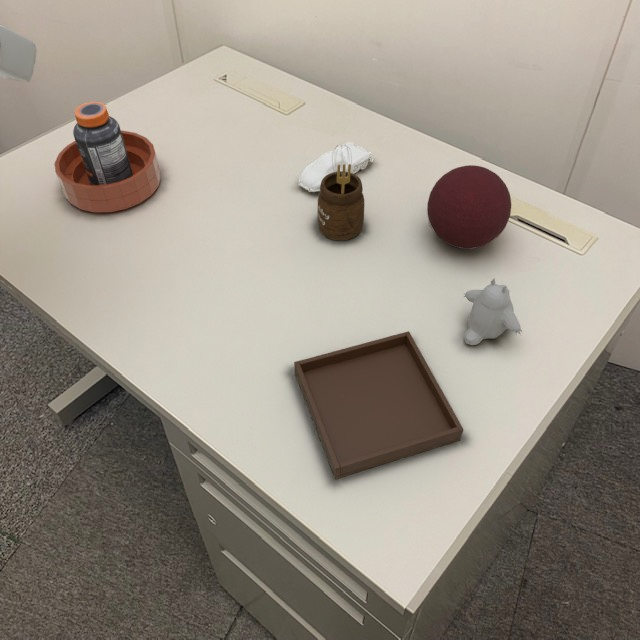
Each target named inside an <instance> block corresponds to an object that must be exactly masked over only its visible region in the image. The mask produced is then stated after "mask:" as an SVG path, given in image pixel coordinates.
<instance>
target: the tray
mask: <svg viewBox="0 0 640 640" xmlns="http://www.w3.org/2000/svg"><path fill="white" fill-rule="evenodd" d="M293 365H294V366H293V367H294V375H295V377H296V380H297V382H298V386H299V388H300V391H301V393H302V396H303V399H304V401H305V404H306V406H307V409H308V412H309V414H310V417H311V420H312V422H313V424H314V428H315V430H316V432H317V435H318V437H319V441H320V443H321V446H322V448H323V451H324V454H325V456H326V458H327V461H328V464H329V466H330V470H331V472H332V474H333V477H334V480H337V479H340V478H343V477H347V476H350V475H353V474H356V473H359V472H362V471H366V470H369V469H373V468H376V467H378V466H382V465H386V464H388V463H392V462H394V461H398V460H401V459H404V458H405V459H406V458H408V457H411V456H415V455H417V454H421V453H424V452H426V451H430V450H433V449H436V448H439V447H442V446H446V445H449V444H450V445H451V444H452V443H456V442H459V441H461V440H462V436H463V434H464V430H465V429H464V428H463V426H462V424H461V422H460V420H459V419H458V417H457V415H456V412H455V411H454V410H453V408H452V406H451V404H450V402H449V401H448V398H447V397H446V395H445V393H444V392H443V389H442V388H441V386H440V384H439V382H438V381H437V379H436V377H435V376H434V373H433V371H432V369H431V368H430V366H429V364H428V363H427V361H426V359H425V357H424V356H423V354H422V351H421V350H420V348H419V347H418V344H417V343H416V341H415V339H414V338H413V335H412V334H411V332H410V331H404V332H400V333H397V334H394V335H390V336H387V337H383V338H379V339H375V340H371V341H368V342H364V343H363V342H362V343H360V344H356V345H352V346H348V347H344V348H341V349H337V350H334V351H331V352H327V353H326V352H325V353H323V354H319V355H315V356H311V357H308V358H304V359H301V360H296V361H294V362H293Z"/></svg>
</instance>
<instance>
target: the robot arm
mask: <svg viewBox="0 0 640 640" xmlns="http://www.w3.org/2000/svg"><path fill="white" fill-rule="evenodd" d="M37 50H38V49H37V45H36V43H35V42H34V41H33V40H31V39H30V38H28V37H26V36H24V35H23V34H20V33H19V32H16V31H14V30H12V29H10V28H9V27H7V26H4V25H2V24H0V79H5V80H11V81H16V82H21V83H30V82H31V80H32V77H33V76H34V71H35V68H36V62H37V55H38V54H37V53H38V51H37Z"/></svg>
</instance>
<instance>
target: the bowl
mask: <svg viewBox="0 0 640 640" xmlns="http://www.w3.org/2000/svg"><path fill="white" fill-rule="evenodd" d="M121 133H122V137H123V140H124V144H125V147H126V151H127V154H128V158H129V161H130V165H131V169H132V172H133V176H132V177H130V178H127V179H125V180H122V181H120V182H117V183H112V184H107V185H91V184H90V181H89V179H88V176H87V173H86V170H85V167H84V164H83V161H82V158H81V155H80V153H79V150H78V147H77V144H76V141H75V140H74V141H72V142H71V143H69V144H67V145H66V146H65V147H64V148H63V149H62V150H61V151H60V152H59V153H58V154H57V157H56V159H55V161H54V172H55V175H56V177H57V180H58V182H59V185H60V187H61V190H62V193H63V195H64V197H65V198H66V200H67V201H68V202H69V203H70V205H72V206H74V207H76V208H78V209H79V210H82V211H86V212H91V213H113V212H119V211H122V210H127V209H129V208H131V207H134V206H137V205H140V204H142V202H144V201H145V200H147V199H148V198H150V197H151V196H152V195H153V194H154V192H155V191H156V190H157V189H158V188H159V186H160V182H161V178H162V174H161V171H160V166H159V161H158V158H157V154H156V150H155V146H154V144H153V142H151V141H150V140H149V139H148V138H147V137H146V136H144V135H142V134H140V133H137V132H134V131H128V130H121Z"/></svg>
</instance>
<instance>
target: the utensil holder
mask: <svg viewBox="0 0 640 640" xmlns="http://www.w3.org/2000/svg"><path fill="white" fill-rule="evenodd" d="M339 146H341V147H342V146H344V147H345V145H343V143H342V144H337V146H335V147H334V149H333V150H335V149H336V148H337V147H339ZM347 147H348V146H347ZM345 148H346V147H345ZM348 148H349V147H348ZM348 148H346V149H348ZM338 149H339V148H338ZM349 149H350V148H349ZM337 151H338V150H337ZM347 151H348V150H347ZM350 151H351V150H350ZM333 152H334V151H333ZM336 154H337V152H336ZM348 154H349V152H348ZM342 155H343V148H342ZM351 163H352V156H351ZM332 165H333V155H332ZM347 166H348V172H345V168H346V165H345V164H343V170H342V167H341V171H340V164H338V166H337V170H336V172H333V173H330V174H328V175H326V176H325V177H324V178H323V179H322V181H321V185H320V191H319V194H318V197H317V224H318V229H319V231H320V233H321V234H322V235H323V236H324V237H326V238H328V239H330V240H334V241H348V240H351V239H354V238H355V237H357V236H358V235H359V234H360V233H361V232H362V230H363V226H364V220H365V197H364V193H363V190H364V188H363V182H362V180H361V178H360V177H359V176H358V175H356V173H354V174H353V173H351V164H349V165H348V164H347ZM335 167H336V165H335ZM333 170H334V168H333ZM346 171H347V170H346Z"/></svg>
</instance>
